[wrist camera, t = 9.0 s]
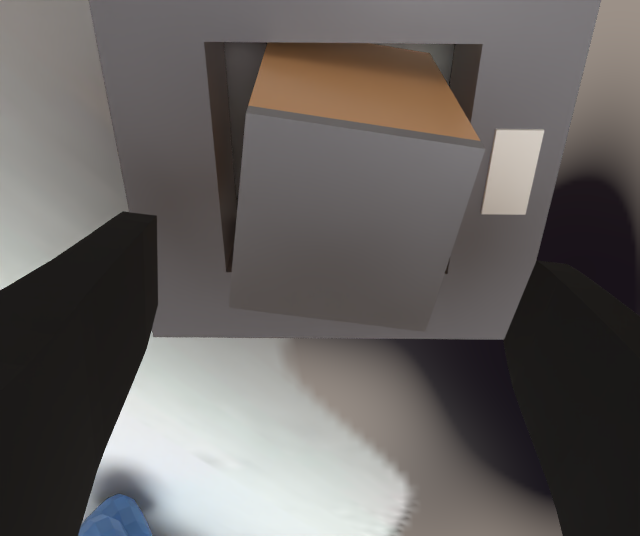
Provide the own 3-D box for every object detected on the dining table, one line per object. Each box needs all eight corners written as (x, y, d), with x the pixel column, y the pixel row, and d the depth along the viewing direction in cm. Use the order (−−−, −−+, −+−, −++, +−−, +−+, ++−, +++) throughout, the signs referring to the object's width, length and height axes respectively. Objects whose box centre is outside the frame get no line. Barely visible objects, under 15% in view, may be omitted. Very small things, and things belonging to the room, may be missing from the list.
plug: (256, 173, 19) (228, 307, 13) (272, 27, 17) (246, 113, 11) (394, 193, 20) (425, 331, 14) (429, 53, 17) (485, 149, 11)
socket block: (172, 282, 21) (152, 339, 19) (113, -92, 15) (70, -84, 12) (493, 284, 22) (517, 341, 19) (571, -88, 15) (622, -78, 13)
